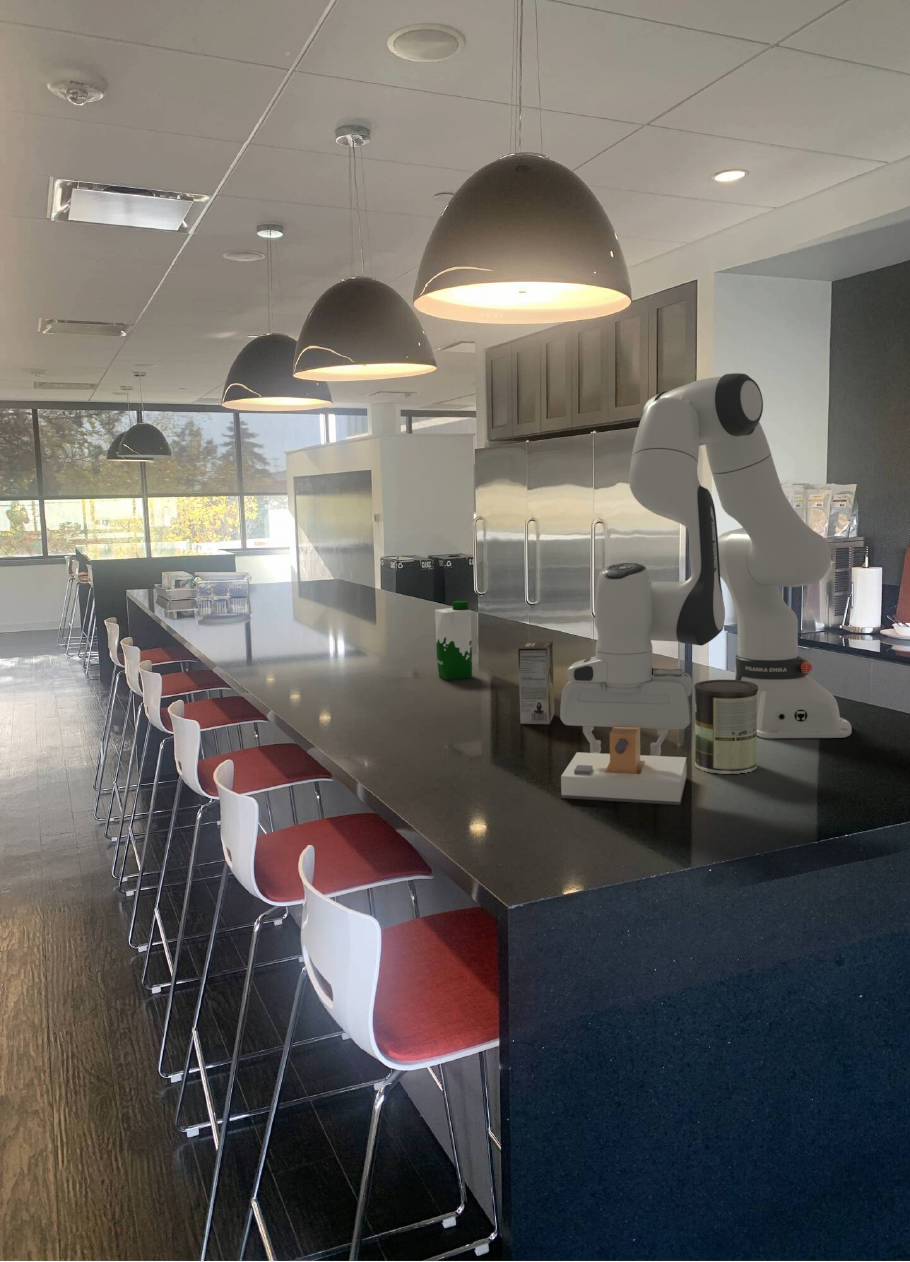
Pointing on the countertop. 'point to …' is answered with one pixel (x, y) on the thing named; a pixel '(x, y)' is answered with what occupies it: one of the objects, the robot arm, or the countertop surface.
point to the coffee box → (536, 682)
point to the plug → (625, 750)
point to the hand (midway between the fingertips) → (625, 753)
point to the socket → (625, 780)
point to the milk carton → (454, 641)
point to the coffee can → (726, 726)
